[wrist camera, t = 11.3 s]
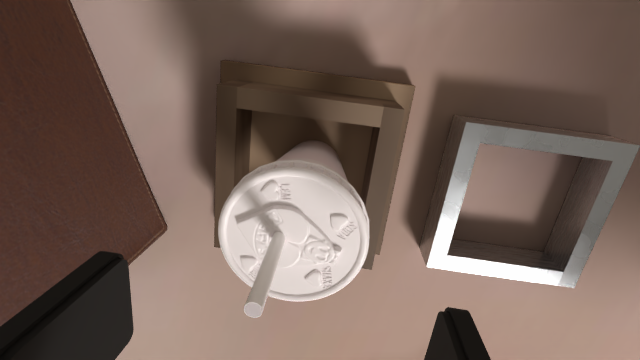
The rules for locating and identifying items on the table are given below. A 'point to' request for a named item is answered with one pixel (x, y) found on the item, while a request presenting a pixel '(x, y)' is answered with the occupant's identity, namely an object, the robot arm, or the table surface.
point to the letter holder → (61, 157)
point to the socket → (311, 130)
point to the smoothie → (295, 228)
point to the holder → (574, 218)
